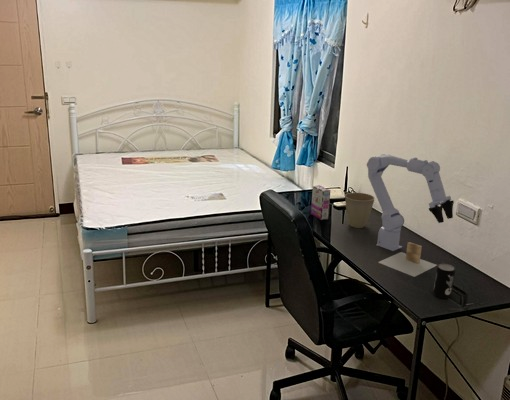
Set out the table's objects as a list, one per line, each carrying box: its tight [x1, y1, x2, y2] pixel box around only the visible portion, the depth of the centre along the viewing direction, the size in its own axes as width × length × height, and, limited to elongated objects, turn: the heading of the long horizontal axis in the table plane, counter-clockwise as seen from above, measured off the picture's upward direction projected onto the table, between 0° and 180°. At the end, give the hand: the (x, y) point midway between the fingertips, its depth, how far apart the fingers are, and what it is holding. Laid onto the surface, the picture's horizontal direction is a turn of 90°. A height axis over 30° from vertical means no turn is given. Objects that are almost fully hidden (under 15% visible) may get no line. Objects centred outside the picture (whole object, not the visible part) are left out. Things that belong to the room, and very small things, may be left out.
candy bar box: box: [310, 184, 331, 221], centre depth 271 cm, size 11×5×16 cm, turn 25°
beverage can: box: [432, 263, 456, 300], centre depth 188 cm, size 7×7×12 cm
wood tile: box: [405, 241, 423, 264], centre depth 217 cm, size 6×2×8 cm, turn 41°
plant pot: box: [344, 192, 376, 229], centre depth 259 cm, size 15×15×16 cm
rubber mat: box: [377, 251, 438, 278], centre depth 216 cm, size 18×18×1 cm
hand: (445, 220), depth 212 cm, fingers open, 7 cm apart
